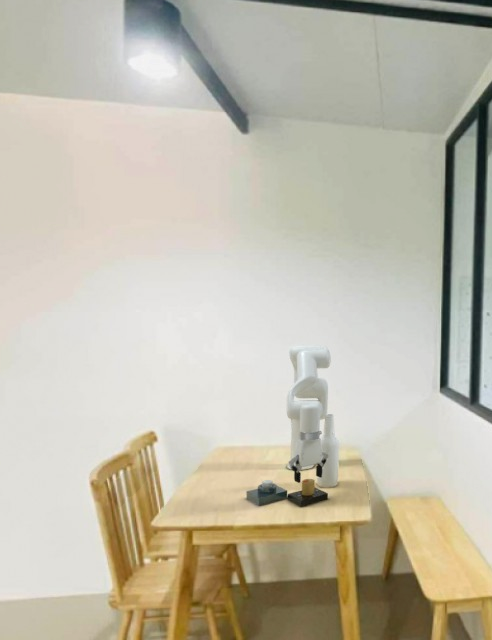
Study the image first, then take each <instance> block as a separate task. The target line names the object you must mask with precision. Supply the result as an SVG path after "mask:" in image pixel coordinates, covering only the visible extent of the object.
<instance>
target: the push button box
mask: <svg viewBox="0 0 492 640" xmlns="http://www.w3.org/2000/svg"><path fill="white" fill-rule="evenodd" d="M287 499H288V490H287V489H285V488H282V487H281V486H279V485H277V484H276V483H274V482H273V487H270V488H262V483H261V484H258V485H257V488H255V489H250V490H247V491H246V500H247V501H249V502H251V503H253V504H255V505H256V506H257V507H260V506H264V505H267V504H271V503H274V502H279V501H282V500H287Z"/></svg>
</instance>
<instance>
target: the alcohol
mask: <svg viewBox="0 0 492 640" xmlns="http://www.w3.org/2000/svg"><path fill="white" fill-rule="evenodd" d="M320 439H321V445H322V452H323V453H326V454H328V458H327V459H326V462H325V464H324V467H322V477H321V478H320V477H318V476H316V484H317V486H318V487H320V488H327V489H328V488H333V487H335V486H337V485H338V483H339V456H340V442H339V439H338V437H336V435H335V415H334V414H333V413H330V414H329V413H327V415H325V419H324V425H323V433H322V437H320ZM322 459H323V456H322Z"/></svg>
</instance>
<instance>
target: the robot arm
mask: <svg viewBox="0 0 492 640" xmlns="http://www.w3.org/2000/svg"><path fill="white" fill-rule="evenodd" d="M288 353H289V354H288V355H289V359H290V362H291V364H292V366H293V367H292V368H293V371H294V372H293V377H294V378H293V384H292V386H290V388H289V389H288V391H287V395H286V416H287V418H288V419H289V420H290V460H289V461H288V463H287V464H286V468H287V469H288V470H292V471H293V472H294V473H293V479H294V482H296V483H298V484H300V483H301V482H302V480H301V479H302V478H301V475H302V473H301V471H304V470H305V471H306V470H309V469H312V468H313V467H314V466H315V465H316V468H315V476H316V477H317V476H318V477H320V478H321V477H322V467H324V464H325V462H326V459H327V458H328V454H326V453H323V452H322V445H321V437H320V435H323V433H322V430H320V426H321V425H320V424H321V423H320V421H322V420H325V415H327V414H328V403H329V401H328V399H329V385H328V384H329V383H328V381H327V380H326V379H325V378H323V377H319V376H318V369H328V368H330V366H331V362H332V360H331V359H332V358H331V353H330V350H329V349H328V347H327V346H326V345H304V344H303V345H302V344H301V345H293V346H291V347H290V348H289V352H288ZM294 398H297V399H299V400H294ZM301 399H303V400H301ZM322 456H323V459H322Z"/></svg>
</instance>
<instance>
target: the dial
mask: <svg viewBox="0 0 492 640" xmlns="http://www.w3.org/2000/svg"><path fill="white" fill-rule="evenodd" d="M315 482H316V481H315V479H313V478H305V479H302V480H301V490H302V495H305V496H309V495H313V494H314V487H315Z"/></svg>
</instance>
